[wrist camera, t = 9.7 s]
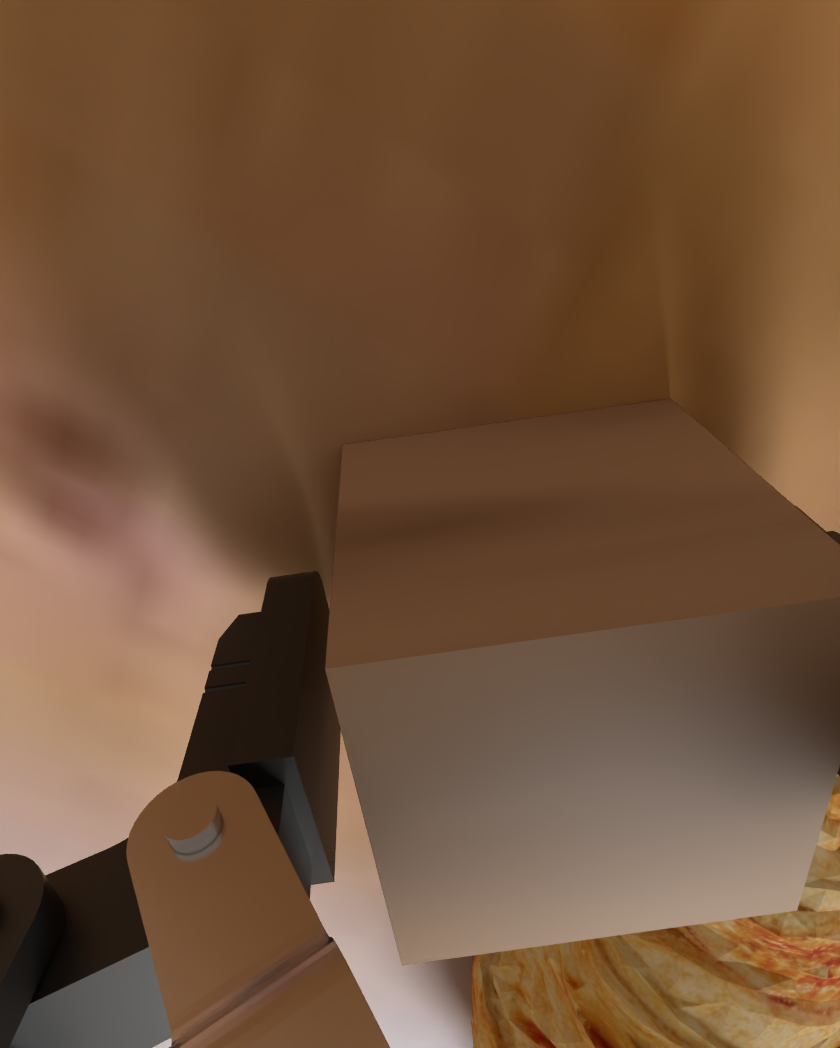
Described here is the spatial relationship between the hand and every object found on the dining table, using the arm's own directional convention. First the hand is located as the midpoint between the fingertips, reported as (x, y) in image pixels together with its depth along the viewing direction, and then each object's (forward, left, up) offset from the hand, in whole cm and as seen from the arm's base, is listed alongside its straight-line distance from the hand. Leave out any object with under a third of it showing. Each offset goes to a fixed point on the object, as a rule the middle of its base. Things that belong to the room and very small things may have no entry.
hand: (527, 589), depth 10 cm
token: (0, 0, -1) cm, 1 cm away
